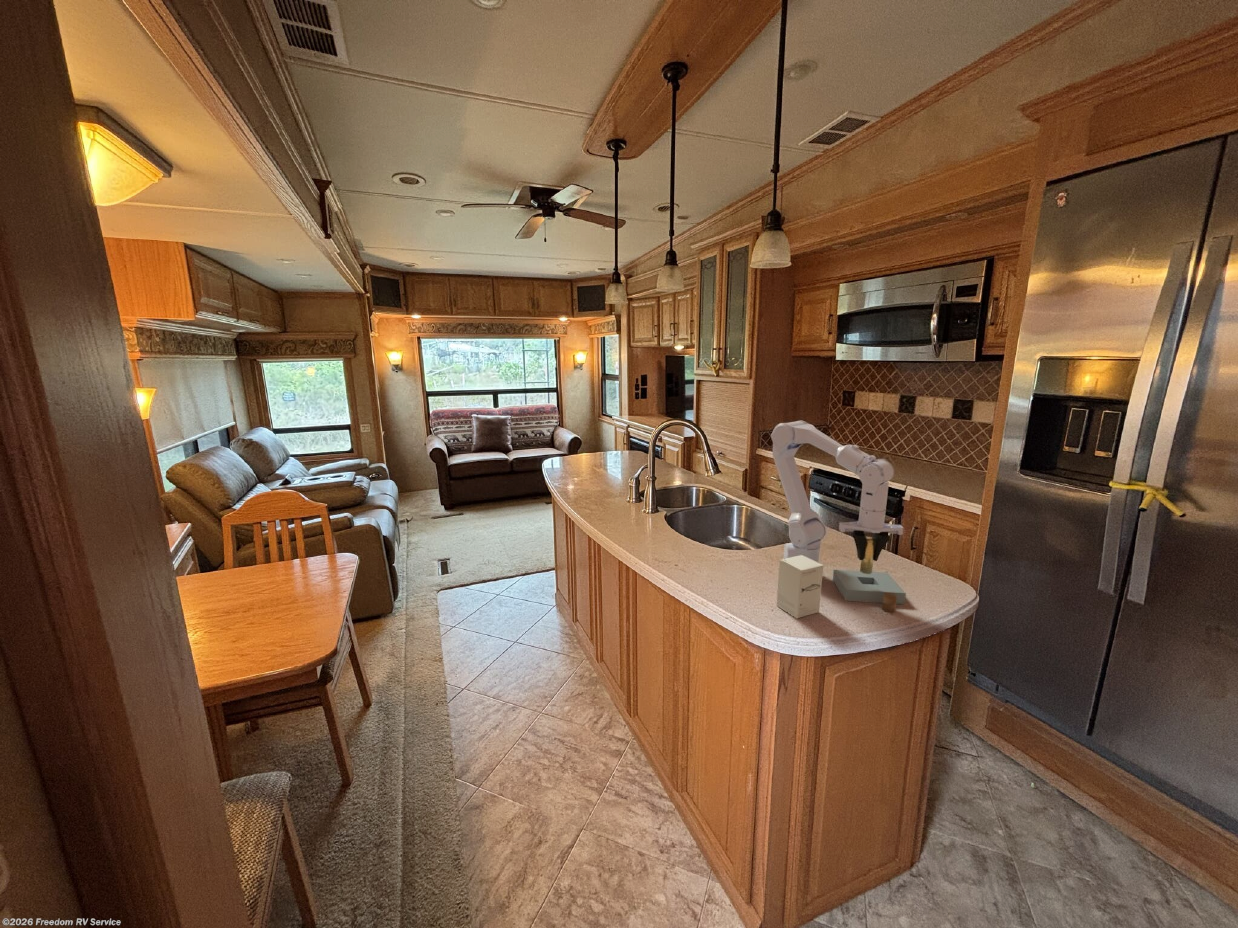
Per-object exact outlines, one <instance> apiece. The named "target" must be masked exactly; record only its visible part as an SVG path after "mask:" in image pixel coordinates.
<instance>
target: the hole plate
mask: <svg viewBox="0 0 1238 928" xmlns="http://www.w3.org/2000/svg"><path fill="white" fill-rule="evenodd" d="M832 581H833V583H834V584H835V586H836V587H837V589H838V590H839V592H840V593H841V596H842V597H843V599H844V600H845V601H847V602H862V603H863V602H865V603H881V604H883V597H884V593H886V592H889V593H893V594H895V595H897V600H896V605H905V602H906V596H907V595H906V594H907V593H906V591H905V590H904V589H903V588H902V587H901V586H900V585H899V584H898V582H896V580H895V579H894V578H893V577H892V576H891V574H890V573H889V572H887V571H872V573H871V574H865V573H862V572H860V570H849V569H833V573H832Z"/></svg>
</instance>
